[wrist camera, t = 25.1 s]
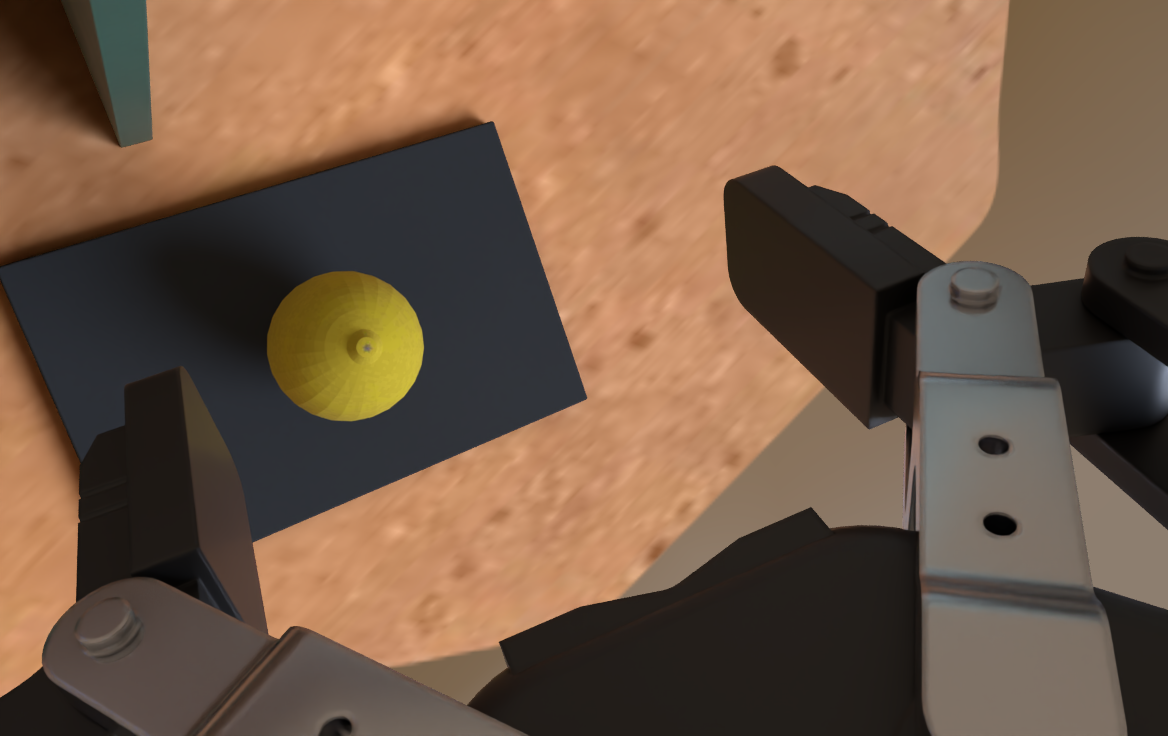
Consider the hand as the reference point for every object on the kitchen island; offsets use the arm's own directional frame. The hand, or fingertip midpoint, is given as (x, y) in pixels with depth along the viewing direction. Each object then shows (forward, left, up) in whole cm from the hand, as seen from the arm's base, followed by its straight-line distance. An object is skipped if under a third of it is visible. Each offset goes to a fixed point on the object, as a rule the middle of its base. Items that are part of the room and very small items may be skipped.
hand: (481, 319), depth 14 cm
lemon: (-2, +1, -27) cm, 27 cm away
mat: (-2, +1, -28) cm, 28 cm away
